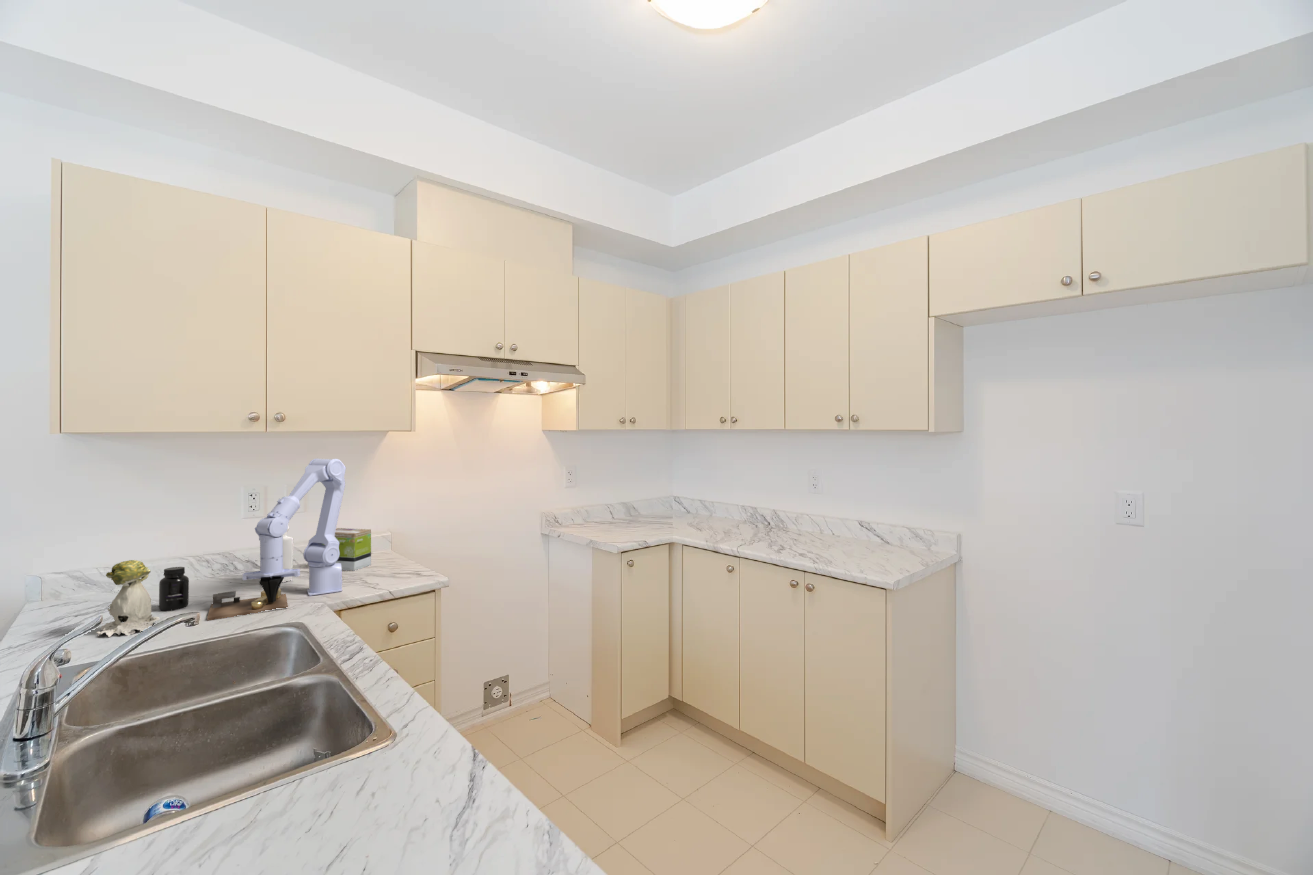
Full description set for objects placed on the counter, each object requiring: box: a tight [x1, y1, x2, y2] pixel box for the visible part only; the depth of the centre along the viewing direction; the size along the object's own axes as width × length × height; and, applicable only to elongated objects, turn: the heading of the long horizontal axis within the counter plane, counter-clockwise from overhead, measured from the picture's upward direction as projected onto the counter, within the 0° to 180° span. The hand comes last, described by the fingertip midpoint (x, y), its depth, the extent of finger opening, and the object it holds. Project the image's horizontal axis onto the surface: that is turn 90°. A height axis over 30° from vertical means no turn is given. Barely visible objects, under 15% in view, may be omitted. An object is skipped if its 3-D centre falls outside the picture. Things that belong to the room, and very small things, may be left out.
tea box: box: [322, 527, 372, 572], centre depth 221 cm, size 15×10×15 cm, turn 81°
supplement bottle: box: [158, 566, 190, 612], centre depth 170 cm, size 7×7×12 cm
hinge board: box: [206, 590, 289, 622], centre depth 170 cm, size 19×16×4 cm
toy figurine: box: [96, 559, 160, 638], centre depth 152 cm, size 12×13×18 cm
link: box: [251, 587, 282, 609], centre depth 172 cm, size 14×5×2 cm, turn 15°
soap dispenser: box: [276, 525, 294, 583], centre depth 200 cm, size 6×6×22 cm
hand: (271, 601), depth 171 cm, fingers closed
